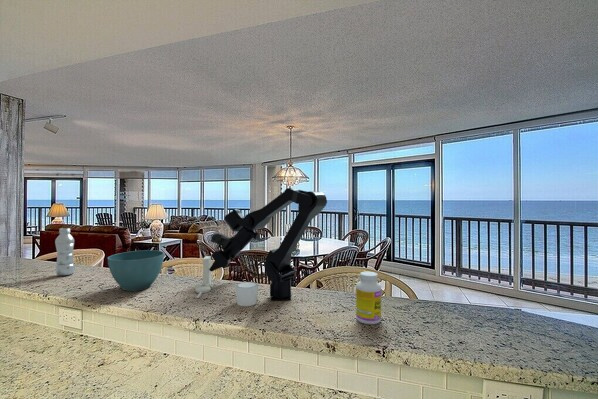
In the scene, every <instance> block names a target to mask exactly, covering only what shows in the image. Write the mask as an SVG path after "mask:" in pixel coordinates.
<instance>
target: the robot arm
mask: <svg viewBox="0 0 598 399" xmlns="http://www.w3.org/2000/svg"><path fill="white" fill-rule="evenodd" d="M292 203H294V204H297V206H298V207H297V208H298V209H297V215H296V217H295V218H294V220H293V221H292V224H291V225H290V228H288V230H287V232H286V235H285V236H284V238H283V239H282V241H281V243H280V245H279V247H278V248H274V249H271V250H269V251H268V254H267V256H266V258H264V264H263V266H264V270H265V273H266V276H267V279H268V281H269V282H270V283H269V296H270V297H269V298H270V301H292V278H294V277H295V275H296V270H295V269H294V267H293V266H292V265H291V263H292V254H293V252H294V250H295V248H296V247H297V245H298V244H299V242H300V240H301V238H302V237H303V235H304V233H305V231H306V230H307V228H308V227H309V225H310V223H311V221H312V220H313V219H314V218H316V217H317V216H318V215H320V213H321V212H322V211H323V210H324V209H325V207H326V206H327V205H328V200H327V196H326V195H325V193H324V192H322V191H306V190H301V189H298V188H295V187H288V188H286V189H285V190H284V191H283V192H282V193H280V194H279V195H278V196H276V197H275V198H274V199H273V200H271V201H270V202H268V203H267V204H266V205H264V206H263V207H262V208H259V209H256V210H254V211H250V212H249V213H247V214H246V215H245V216H244V215H243V214H242V213H241V210H240V209H239V208H234V209H232V211H230V212H228V213H227V214H226V215H225V216H224V218H223V221H224V222H225V223H226V224H227V226H228V227H229V228H230V230H231V231H232V232H236V233H235V234H234V235H233V236H230V237H229V236H227V235H225V234H224V233H221V232H219V231H216V232H213V235H211V237H210V238H211V239H210V242H211V243H214V244H216V245H219V246H220V249H216V250H215V251H214V252H212V254H211V255H210V256H211V259H213V260H214V261H213V263H211V268H210V271H211V273H212V272H214V271H216V270H219V269H221V268H223V269H225V268H226V267H227V266H228V265H229V264H230V263H231V262H233V260H234V259H236V258H237V257H238V256H239V255H240V253H241V251H242V250H244V249H245V248H246V247H247V246H248V245H249V244H250V243H251V241H252V240H255V241H258V242H259V241H261V238H260V237H261V236H260V235H261V233H260V232H258V231H255V230H259V229H260V230H261V229H264V228H265V227H266V226H267V225H268V223H270V220H271V219H272V218H273V217H274V216H275V215H277V214H278V213H279V212H281V211H283V209H285V208H286V207H288V206H290V205H291V204H292Z"/></svg>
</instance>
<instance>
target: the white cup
mask: <svg viewBox="0 0 598 399" xmlns="http://www.w3.org/2000/svg"><path fill="white" fill-rule="evenodd" d="M258 290H259V284H258V283H257V282H254V281H243V282H238V283H236V284H235V295H236V296H235V297H236V304H237V306H241V307H251V306H255V307H254V309H257V302H258V295H259V294H258Z"/></svg>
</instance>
